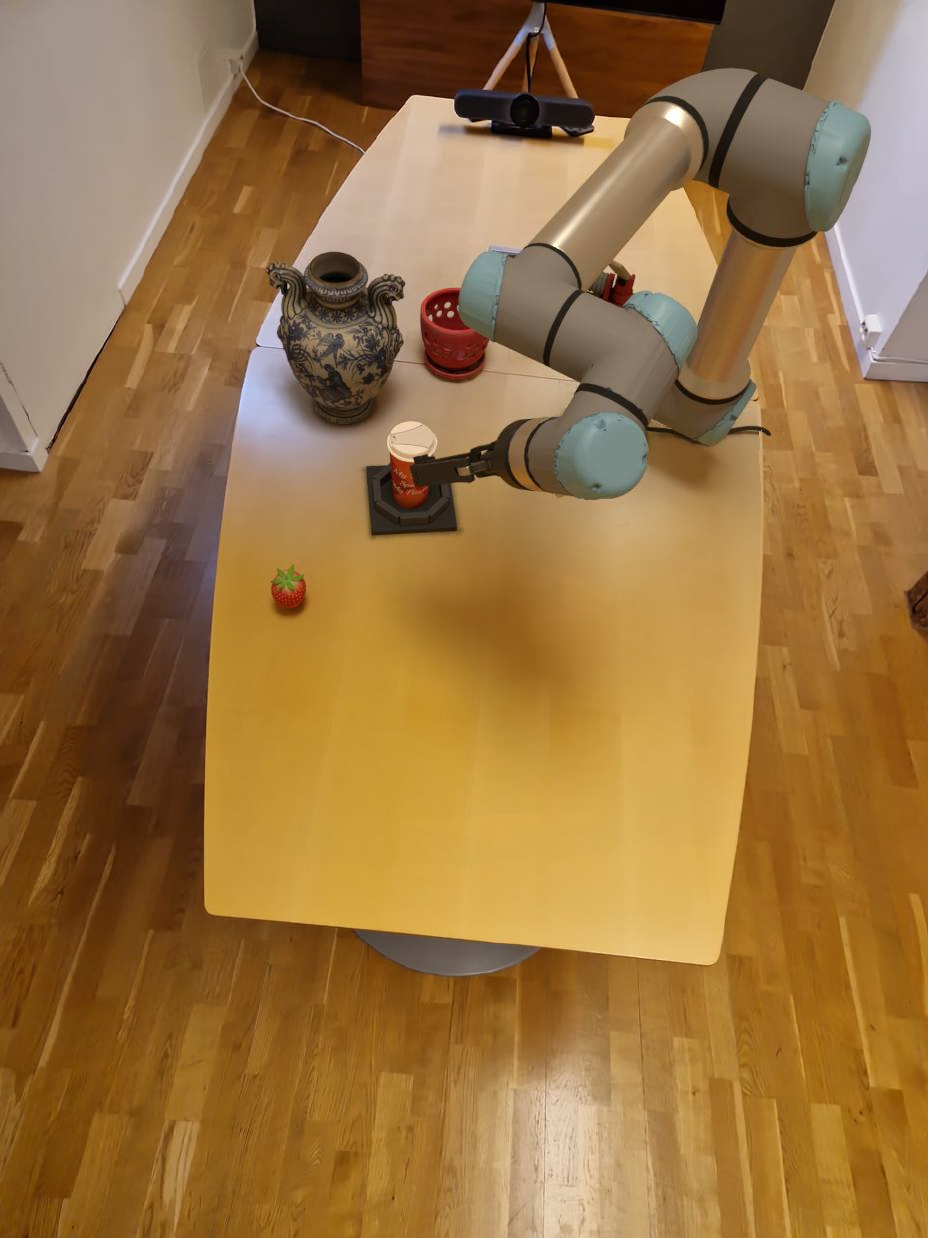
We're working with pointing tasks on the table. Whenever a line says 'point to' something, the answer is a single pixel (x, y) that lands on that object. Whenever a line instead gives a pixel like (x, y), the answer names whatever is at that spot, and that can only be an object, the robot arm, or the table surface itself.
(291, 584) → the fruit
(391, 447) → the paper cup
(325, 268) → the decorative vase
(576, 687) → the table surface
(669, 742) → the table surface
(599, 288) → the toy fire truck
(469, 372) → the plant pot
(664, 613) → the table surface
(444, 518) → the pad
